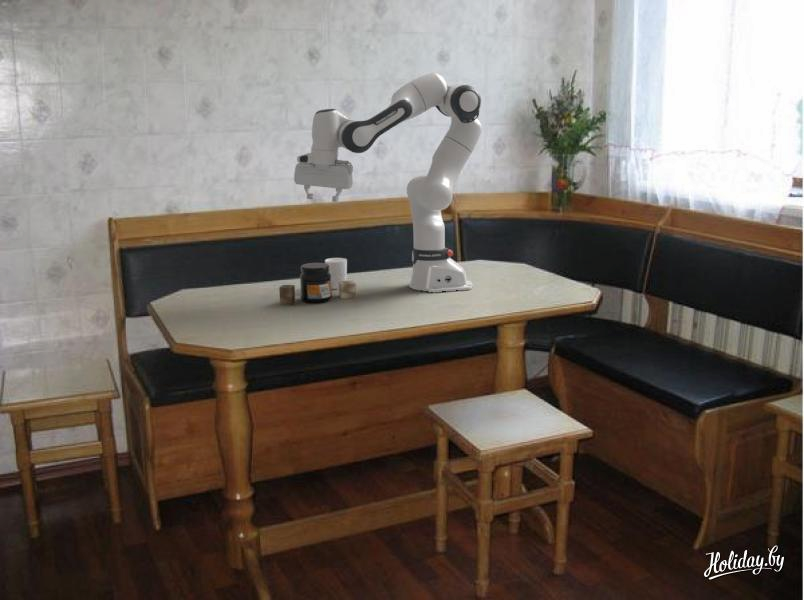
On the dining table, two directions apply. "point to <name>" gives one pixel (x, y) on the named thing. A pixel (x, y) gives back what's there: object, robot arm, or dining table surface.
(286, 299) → the walnut block
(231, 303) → the dining table surface
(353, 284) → the beech block
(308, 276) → the supplement container
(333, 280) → the white cup
